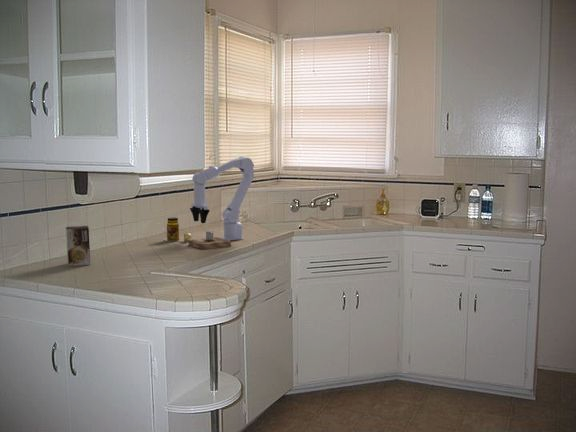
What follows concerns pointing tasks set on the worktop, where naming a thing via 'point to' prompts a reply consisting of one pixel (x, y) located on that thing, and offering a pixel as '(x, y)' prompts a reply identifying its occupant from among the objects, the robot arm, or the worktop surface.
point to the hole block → (209, 243)
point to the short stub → (187, 237)
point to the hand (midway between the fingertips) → (199, 222)
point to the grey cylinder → (209, 236)
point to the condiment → (172, 230)
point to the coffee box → (78, 245)
